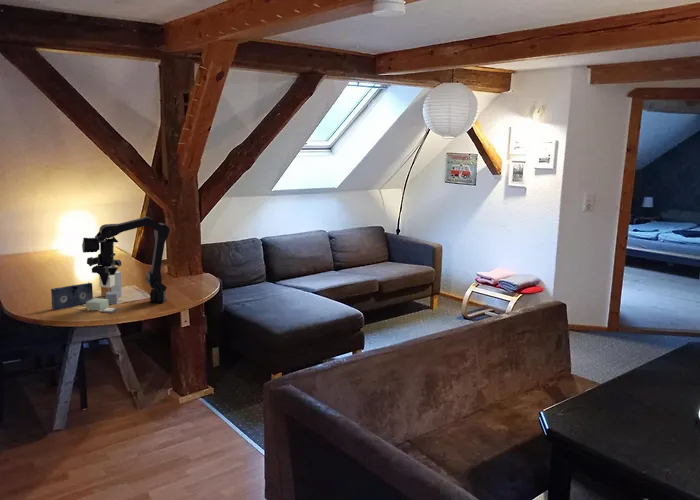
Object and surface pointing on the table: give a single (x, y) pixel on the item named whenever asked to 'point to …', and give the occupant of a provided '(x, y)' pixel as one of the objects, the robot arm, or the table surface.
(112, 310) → the swatch
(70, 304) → the vhs cassette tape
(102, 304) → the sage block
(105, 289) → the small box
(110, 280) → the cream cube
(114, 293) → the slate cube
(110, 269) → the robot arm
